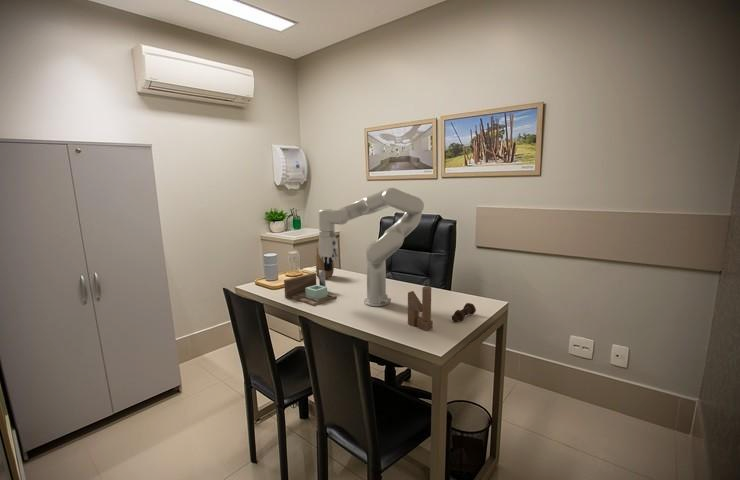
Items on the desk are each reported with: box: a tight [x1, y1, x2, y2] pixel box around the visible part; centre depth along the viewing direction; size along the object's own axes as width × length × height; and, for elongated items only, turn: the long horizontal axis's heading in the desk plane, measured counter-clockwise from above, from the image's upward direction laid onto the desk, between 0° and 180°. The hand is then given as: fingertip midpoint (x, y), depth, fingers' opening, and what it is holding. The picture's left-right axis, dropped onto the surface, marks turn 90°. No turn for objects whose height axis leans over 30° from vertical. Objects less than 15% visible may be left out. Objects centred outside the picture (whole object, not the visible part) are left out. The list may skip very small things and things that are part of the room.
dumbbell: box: [451, 302, 477, 323], centre depth 160 cm, size 6×5×15 cm
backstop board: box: [283, 272, 338, 307], centre depth 191 cm, size 24×20×10 cm
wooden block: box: [407, 285, 434, 332], centre depth 150 cm, size 4×11×18 cm, turn 44°
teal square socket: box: [305, 284, 328, 300], centre depth 188 cm, size 8×8×5 cm
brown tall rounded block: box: [315, 247, 335, 280], centre depth 231 cm, size 11×8×20 cm
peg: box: [318, 270, 327, 287], centre depth 201 cm, size 3×3×12 cm
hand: (328, 270), depth 180 cm, fingers closed
